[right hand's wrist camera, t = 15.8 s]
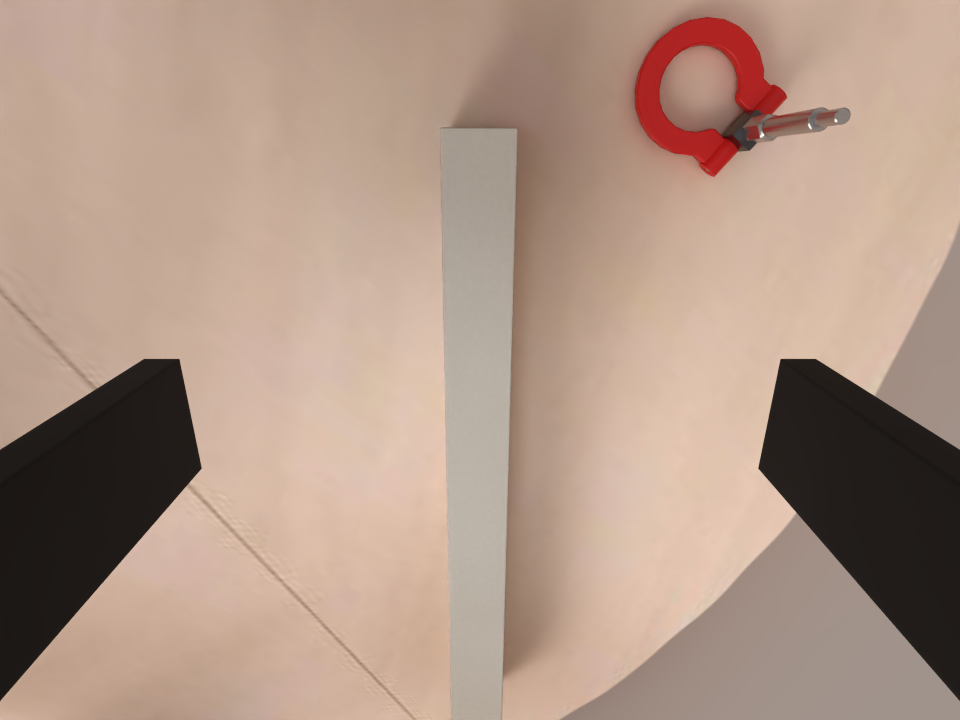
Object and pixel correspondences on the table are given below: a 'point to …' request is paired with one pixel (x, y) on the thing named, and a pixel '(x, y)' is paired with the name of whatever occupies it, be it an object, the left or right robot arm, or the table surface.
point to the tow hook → (749, 96)
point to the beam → (477, 403)
